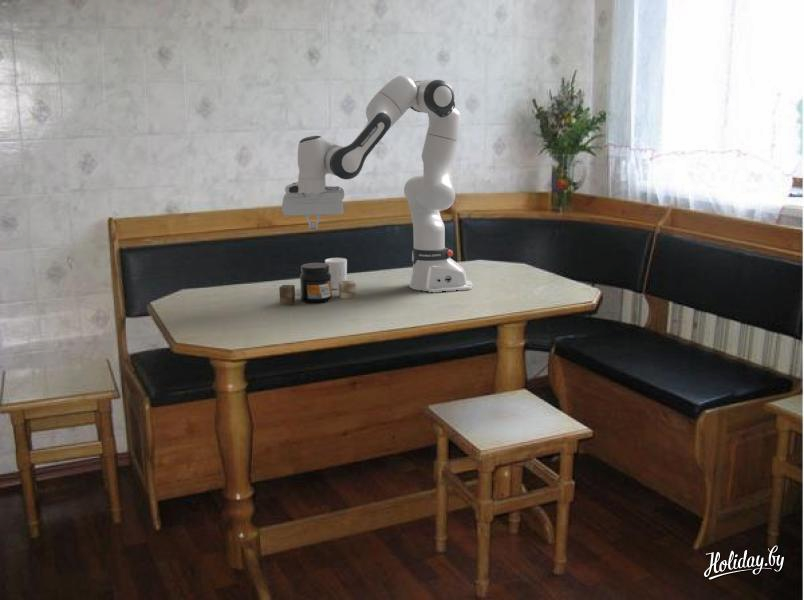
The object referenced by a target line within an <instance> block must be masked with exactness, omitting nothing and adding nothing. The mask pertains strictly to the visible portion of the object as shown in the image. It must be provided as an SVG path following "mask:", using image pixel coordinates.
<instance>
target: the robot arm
mask: <svg viewBox="0 0 804 600" xmlns="http://www.w3.org/2000/svg"><path fill="white" fill-rule="evenodd" d="M455 103H456V102H455V92H454V89H453V87H452V86H451V84H449V83H448V82H446V81H445V80H442V79H433V78H432V79H431V78H429V79H424V80H415V81H414V80H413V79H412V78H410V77H409V76H406V75H397V76H395V77H394V78H392V79H391V80H390V81H388V83H386V84H385V85H384V86H383V87H382V88H381V89H379V91H377V93H376V94H374V96H373V97H372V99H371V100H370V101H369V102H368V104H367V106H366V108H365V115H366V118H367V123H366V125H365V126H364V128H363V129H362V131H361V132H360V133H359V134H357V136H356V137H355V139H354V140H353V141H352V142H351V143H350V144H348V145H346V146H340V145H337V144H334V143H332V142H331V141H328V140H326V139H325V138H323V136H321V135H313V136H306V137H304V138H302V139H301V140H300V141H299V142H298V146H297V167H298V171H299V172H298V176H297V178H298V181H296V182H293V183H290V184H287V185H286V186H285V187H284V190H285V191H284V192H285V194H284V195H283V198H282V202H281V203H282V204H281V214H282V215H283V216H284V217H288V216H290V217H293V216H295V217H296V216H297V217H298V216H304V218H305V221H306V222H307V224H308V229H309V230H317V229H319V223H320V221H321V219H322V216H339V215H343V213H344V203H343V199H344V198H345V190H344V188H342V187H340V186H337V185H336V186H335V185H334V186H326V175H327V174H330V175H333V176H335V177H338V178H340V179H341V180H351V179H354V178H356V177H357V176H358V175H359V174H360V172H361V171H362V169H363V166H364V163H365V161H366V159H367V157H369V155H370V153H371V152H372V151H373V149H374V148H375V147H376V146H377V145H378V144H379V142H380V141H381V140H382V139H383V137H384V136H385V135H386V134H387V132H388V131H389V130H390V129H391V128H392V127H393V126H394V125H395V124H396V122H398V121H399V120H400V118H402V116H403V115H404V114H405V113H406V112H407V110H413V111H415V112H418V113H424V114H427V117H428V128H427V131H426V135H425V140H424V143H423V148H422V153H421V161H422V164H423V165H422V168H423V175H417V176H413V177H410V178H408V180H407V181H406V182H405V184H404V188H403V193H404V197H405V198H406V200H407V203H408V208H409V212H410V216H411V221H412V226H413V227H412V231H413V232H412V233H413V237H412V239H413V247H412V251H411V261H412V264H413V265H412V274H411V279H410V283H409V288H410V289H412V290H416V291H421V290H422V291H421V292H426V291H428V292H427V293H431V292H433V293H442V291H446V292H457V291H456V290H458V291H467V290H472V289H473V282H472V281H471V280H470V279H468V278H467V273H466V271H465V269H464V267H462V265H460V264H459V263H458V262H456V260H454V259H452V258H451V257H453V256H454V252H453V250H452V249H449V248H447V247H446V245H445V244H446V243H445V241H446V240H445V239H446V237H445V236H446V233H445V232H446V230H445V229H446V227H445V223H444V221H443V219H442V216H441V213H440V212H441V211H445V210H448V209H449V208H450V207H452V206H453V204H454V202H455V200H456V191H455V189H454V186H453V164H454V158H455V153H456V149H457V146H458V141H459V136H460V132H461V131H460V129H461V117H462V115H461V113H460V111H459V110H458V109H457V108H455V107H456V104H455ZM310 216H316V219H317V220H316V221H315V222H311V220H310V218H311V217H310Z"/></svg>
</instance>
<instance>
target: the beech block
mask: <svg viewBox="0 0 804 600" xmlns="http://www.w3.org/2000/svg"><path fill="white" fill-rule="evenodd" d="M338 284H339V289H338V296H339V298H340V299H341V298H342V300H343V298H344V299H354V298H355V297H356V298H357V291H356V290H357V288H356V287H357V285H356V284H357V283H356V282H355V281H354V280H346V281H338Z"/></svg>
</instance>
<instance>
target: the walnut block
mask: <svg viewBox="0 0 804 600" xmlns="http://www.w3.org/2000/svg"><path fill="white" fill-rule="evenodd" d="M278 288H279V289H278V290H279V306H293V305H294V304H295V303H296V291H295V284H282V285H281V286H279V287H278Z"/></svg>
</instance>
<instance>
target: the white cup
mask: <svg viewBox="0 0 804 600" xmlns="http://www.w3.org/2000/svg"><path fill="white" fill-rule="evenodd" d="M324 263H326V264H328V265H329V266H330V271H329V273H330V274H331V290H339V284H338V281H347V276H348V275H347V274H348V273H347V272H348V259H347V258H344V257H331V258H326V259H324Z"/></svg>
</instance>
